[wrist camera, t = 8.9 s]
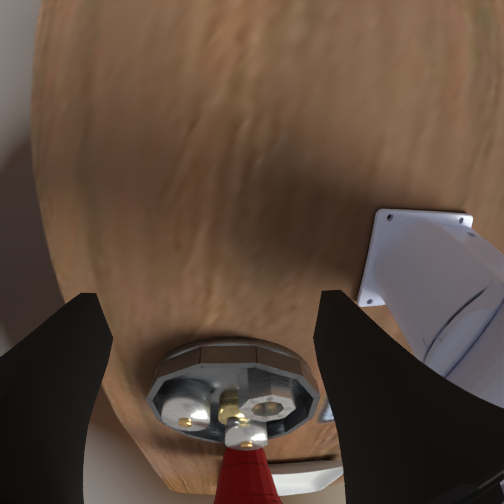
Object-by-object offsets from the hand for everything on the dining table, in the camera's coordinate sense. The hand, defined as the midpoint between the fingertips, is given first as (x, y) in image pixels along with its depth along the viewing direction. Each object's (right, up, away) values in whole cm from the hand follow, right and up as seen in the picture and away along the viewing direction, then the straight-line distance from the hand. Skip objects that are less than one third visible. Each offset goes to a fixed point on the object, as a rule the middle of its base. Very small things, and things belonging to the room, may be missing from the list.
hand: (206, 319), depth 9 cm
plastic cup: (0, -27, +27) cm, 38 cm away
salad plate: (+7, -41, +36) cm, 55 cm away
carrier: (0, -12, +18) cm, 21 cm away
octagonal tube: (+3, -9, +16) cm, 18 cm away
